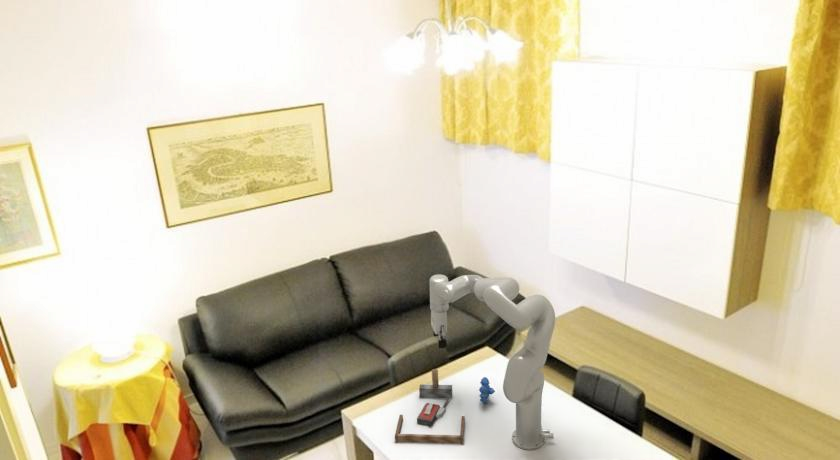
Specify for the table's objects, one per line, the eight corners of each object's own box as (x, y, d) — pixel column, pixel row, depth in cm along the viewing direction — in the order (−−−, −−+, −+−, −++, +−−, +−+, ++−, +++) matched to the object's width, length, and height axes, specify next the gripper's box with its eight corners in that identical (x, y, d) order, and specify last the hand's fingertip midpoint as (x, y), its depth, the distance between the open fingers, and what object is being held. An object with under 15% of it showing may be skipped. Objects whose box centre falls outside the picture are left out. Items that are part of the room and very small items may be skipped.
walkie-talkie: (435, 430, 244) (451, 401, 262) (435, 421, 243) (450, 392, 260) (415, 426, 247) (431, 398, 265) (414, 417, 246) (431, 389, 263)
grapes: (493, 411, 253) (493, 386, 249) (477, 410, 254) (476, 385, 250) (496, 395, 263) (496, 371, 259) (481, 394, 265) (480, 370, 261)
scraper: (452, 394, 266) (451, 368, 262) (452, 398, 263) (450, 372, 259) (420, 394, 268) (418, 368, 263) (419, 398, 265) (418, 372, 260)
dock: (464, 422, 247) (464, 416, 246) (463, 444, 235) (463, 438, 234) (400, 420, 251) (399, 414, 250) (395, 442, 238) (394, 436, 237)
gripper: (425, 296, 254) (426, 332, 261) (434, 315, 239) (435, 353, 245) (443, 294, 256) (444, 330, 262) (453, 313, 240) (453, 351, 246)
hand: (439, 341), depth 253 cm, fingers open, 9 cm apart
